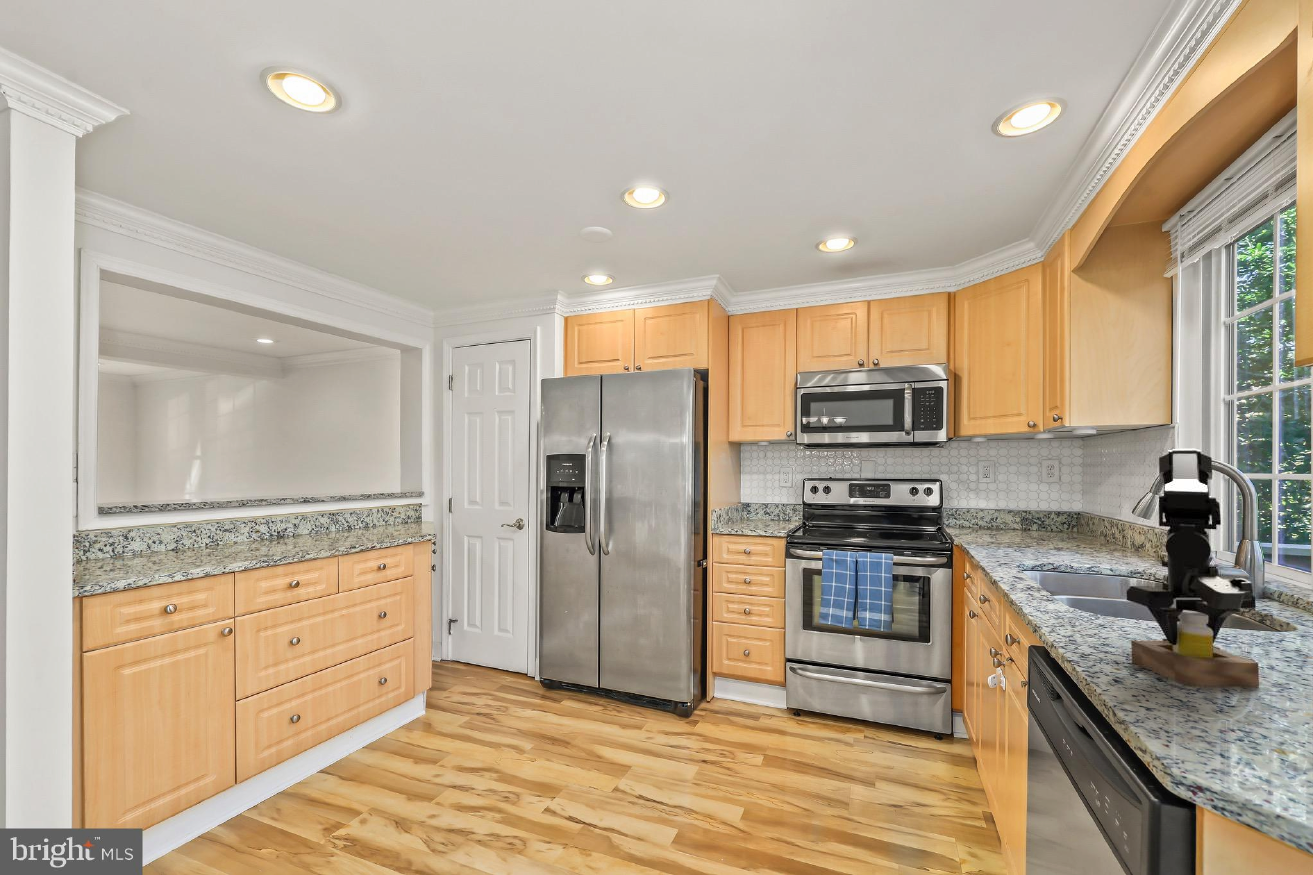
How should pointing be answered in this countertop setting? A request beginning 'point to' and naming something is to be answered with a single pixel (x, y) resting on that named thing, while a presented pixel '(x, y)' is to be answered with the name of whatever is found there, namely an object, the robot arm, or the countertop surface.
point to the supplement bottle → (1194, 635)
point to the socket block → (1196, 666)
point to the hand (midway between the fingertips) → (1190, 644)
